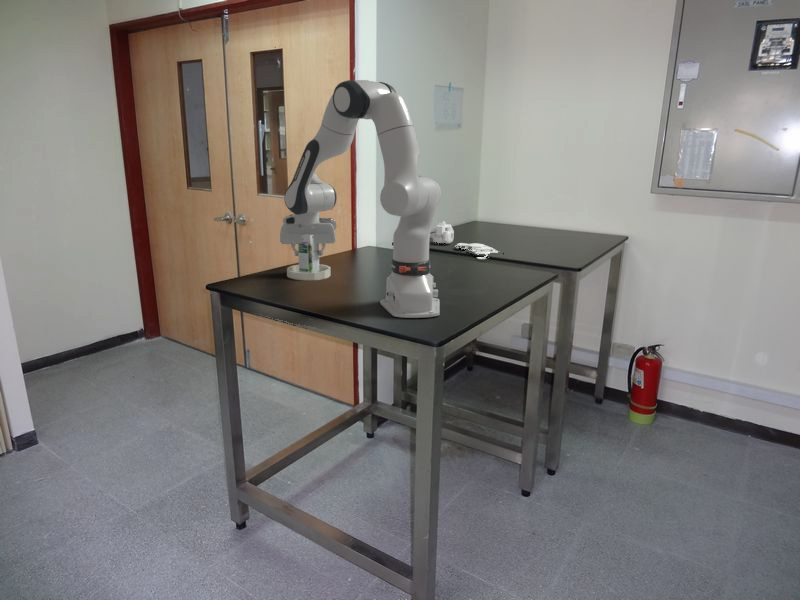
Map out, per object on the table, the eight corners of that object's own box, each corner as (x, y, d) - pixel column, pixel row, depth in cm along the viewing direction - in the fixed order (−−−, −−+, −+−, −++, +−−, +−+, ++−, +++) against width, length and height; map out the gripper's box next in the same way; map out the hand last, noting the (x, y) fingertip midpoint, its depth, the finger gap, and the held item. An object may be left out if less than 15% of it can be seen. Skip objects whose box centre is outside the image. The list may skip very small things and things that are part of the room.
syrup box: (298, 272, 202) (296, 233, 198) (307, 269, 207) (306, 231, 203) (311, 274, 199) (309, 235, 195) (320, 271, 204) (318, 232, 200)
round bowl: (330, 281, 197) (330, 272, 196) (285, 281, 195) (285, 273, 194) (330, 271, 212) (330, 263, 211) (289, 272, 210) (288, 264, 209)
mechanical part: (435, 242, 279) (436, 219, 276) (456, 245, 273) (457, 221, 270) (424, 245, 270) (425, 221, 267) (446, 248, 264) (447, 224, 261)
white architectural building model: (464, 261, 238) (464, 251, 237) (453, 250, 262) (453, 241, 261) (514, 260, 241) (515, 250, 239) (499, 250, 264) (499, 241, 263)
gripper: (335, 217, 202) (336, 253, 206) (280, 217, 199) (281, 254, 203) (336, 219, 196) (336, 256, 200) (278, 219, 193) (280, 257, 197)
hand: (308, 255), depth 201 cm, fingers closed on syrup box, 7 cm apart
